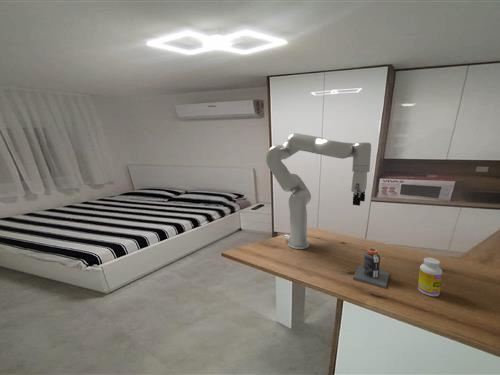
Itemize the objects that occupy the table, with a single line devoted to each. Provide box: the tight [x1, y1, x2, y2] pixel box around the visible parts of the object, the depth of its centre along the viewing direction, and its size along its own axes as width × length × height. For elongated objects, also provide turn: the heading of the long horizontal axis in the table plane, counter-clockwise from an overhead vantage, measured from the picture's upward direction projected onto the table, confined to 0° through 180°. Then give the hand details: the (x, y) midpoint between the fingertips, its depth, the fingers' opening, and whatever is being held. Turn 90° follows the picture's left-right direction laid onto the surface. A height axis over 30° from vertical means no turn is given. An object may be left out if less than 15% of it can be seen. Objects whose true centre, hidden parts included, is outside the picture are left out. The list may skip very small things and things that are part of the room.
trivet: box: [353, 264, 390, 289], centre depth 98 cm, size 12×12×1 cm
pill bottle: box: [363, 247, 381, 278], centre depth 97 cm, size 6×6×11 cm
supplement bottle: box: [417, 257, 443, 297], centre depth 86 cm, size 7×7×13 cm
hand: (358, 203), depth 113 cm, fingers open, 9 cm apart
